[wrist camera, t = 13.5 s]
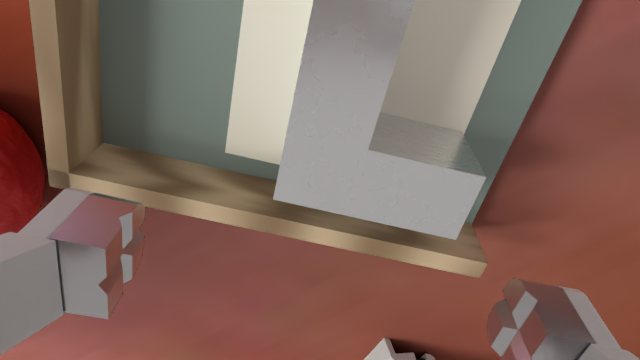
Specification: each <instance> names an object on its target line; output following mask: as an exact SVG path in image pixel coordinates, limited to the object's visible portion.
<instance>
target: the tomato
mask: <svg viewBox="0 0 640 360" xmlns="http://www.w3.org/2000/svg"><path fill="white" fill-rule="evenodd" d="M44 186H45V176H44V168H43V164H42V161H41V158H40V155H39V152H38V150H37V148H36V147H35V145H34V143H33V141H32V140H31V139H30V137H29V136H28V135H27V134H26V132H25V131H24V129H23V128H22V127H21V126H20V125H19V124H18V122H17V121H16V120H15V119H13V118H12V117H11V116H10V115H9V114H8V113H6V112H4V111H2V110H1V109H0V235H1V234H4V233H7V232H14V233H17V232H19V231H20V230H21V229H23V228H24V227H25V226H26V225H27V224H28V223H29V222H30V221H31V220H32V219H33V218H34V217H35V216H36V214H37V213H38V210H39V208H40V207H41V203H42V199H43V196H44Z"/></svg>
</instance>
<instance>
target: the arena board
mask: <svg viewBox="0 0 640 360" xmlns="http://www.w3.org/2000/svg"><path fill="white" fill-rule="evenodd" d="M581 2H582V0H415V2H414V5H413V9H412V12H411V15H410V18H409V21H408V24H407V28H406V31H405V34H404V37H403V40H402V44H401V47H400V50H399V53H398V56H397V59H396V63H395V66H394V69H393V72H392V75H391V78H390V82H389V85H388V88H387V91H386V94H385V97H384V101H383V104H382V107H381V110H380V112H382V113H386V114H390V115H394V116H399V117H403V118H407V119H411V120H415V121H420V122H424V123H428V124H432V125H437V126H441V127H445V128H449V129H453V130H458V131H462V132H463V134H464V136H465V138H466V140H467V142H468V144H469V146H470V147H471V149H472V151H473V153H474V155H475V157H476V159H477V161H478V162H479V164H480V166H481V168H482V170H483V172H484V174H485V176H486V179H485V181H484V183H483V185H482V187H481V189H480V191H479V194H478V196H477V198H476V200H475V202H474V204H473V206H472V208H471V210H470V212H469V214H468V216H467V218H466V220H465V223H469V224H472V223H473V221H474V218H475V216H476V214H477V212H478V210H479V208H480V206H481V204H482V202H483V200H484V198H485V196H486V194H487V192H488V190H489V188H490V186H491V184H492V182H493V180H494V178H495V176H496V174H497V172H498V170H499V168H500V166H501V164H502V162H503V160H504V158H505V156H506V154H507V152H508V150H509V148H510V146H511V144H512V142H513V140H514V138H515V136H516V134H517V132H518V130H519V128H520V126H521V124H522V122H523V120H524V118H525V116H526V113H527V111H528V109H529V107H530V105H531V103H532V101H533V99H534V97H535V95H536V93H537V91H538V89H539V87H540V85H541V83H542V81H543V79H544V77H545V75H546V73H547V71H548V69H549V67H550V65H551V63H552V61H553V59H554V57H555V55H556V53H557V51H558V49H559V47H560V45H561V43H562V41H563V39H564V37H565V35H566V33H567V31H568V29H569V27H570V25H571V23H572V21H573V19H574V17H575V15H576V13H577V10H578V8H579V6H580V4H581ZM98 5H99V33H100V61H101V89H102V117H103V143H107V144H112V145H116V146H121V147H125V148H130V149H134V150H139V151H143V152H148V153H152V154H157V155H161V156H166V157H170V158H175V159H179V160H184V161H188V162H193V163H198V164H202V165H207V166H211V167H216V168H220V169H225V170H229V171H234V172H238V173H243V174H247V175H252V176H256V177H261V178H265V179H270V180H274V181H277V177H278V172H279V167H280V162H281V157H282V152H283V147H284V142H285V137H286V133H287V128H288V123H289V118H290V113H291V108H292V103H293V98H294V93H295V88H296V83H297V78H298V74H299V69H300V64H301V59H302V54H303V49H304V44H305V39H306V34H307V29H308V24H309V19H310V15H311V10H312V5H313V0H98Z"/></svg>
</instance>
